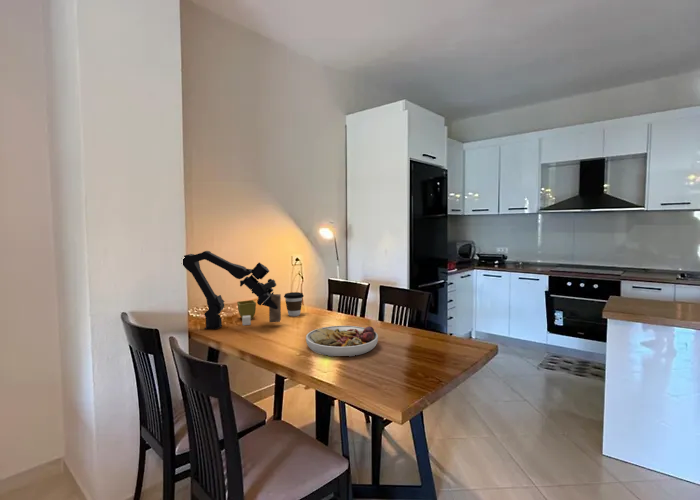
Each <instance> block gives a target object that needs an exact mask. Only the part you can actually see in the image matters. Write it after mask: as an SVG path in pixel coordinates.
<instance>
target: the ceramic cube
mask: <svg viewBox="0 0 700 500" xmlns="http://www.w3.org/2000/svg"><path fill="white" fill-rule="evenodd" d="M241 319H242V320H241V321H242V322H241V324H242V326H251V324H252V319H251V315H248V316H243V317H242V318H241Z"/></svg>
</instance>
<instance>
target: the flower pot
mask: <svg viewBox="0 0 700 500" xmlns="http://www.w3.org/2000/svg"><path fill="white" fill-rule="evenodd" d="M236 303H237V311H238V313H239V315H240V318H241V319H242V317H243V316H248V315H251V320H252V319H253V318H254V317H255V315H256V309H257V308H256V306H257V301H254V300H253V299H251V300H242V301H241V300H240V301H237V302H236Z"/></svg>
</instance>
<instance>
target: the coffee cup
mask: <svg viewBox="0 0 700 500" xmlns="http://www.w3.org/2000/svg"><path fill="white" fill-rule="evenodd" d="M283 298H284V299H285V304H286V305H285V306H286V310H287V314H288V316H289V317H298V316H300V315H301V311H302V307H303V306H302V305H303V298H304V293H303V292H298V291H297V292H296V291H294V292H286V293H285V294H284V296H283Z"/></svg>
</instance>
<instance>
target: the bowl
mask: <svg viewBox="0 0 700 500" xmlns="http://www.w3.org/2000/svg"><path fill="white" fill-rule="evenodd" d="M305 341H306V345H307V346H308V348H309V349H310V350H311V351H313V352H314V353H316V354H318V355H322V354H323V355H322V356H326V355H328V356H327V357H333V356H349V357H355V355H356V356H359V355H364V354H366V353H368V352H371V350H373V349H374V348H375V347H376V345H377V344H378V341H379V335H378V333H377V332H376V331H375V329H374V327H372V326H367V327H362V326H356V325H331V326H324V327H319V328H316V329H313V330H311V331H309V332H308V333H307V334H306V335H305Z"/></svg>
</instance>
